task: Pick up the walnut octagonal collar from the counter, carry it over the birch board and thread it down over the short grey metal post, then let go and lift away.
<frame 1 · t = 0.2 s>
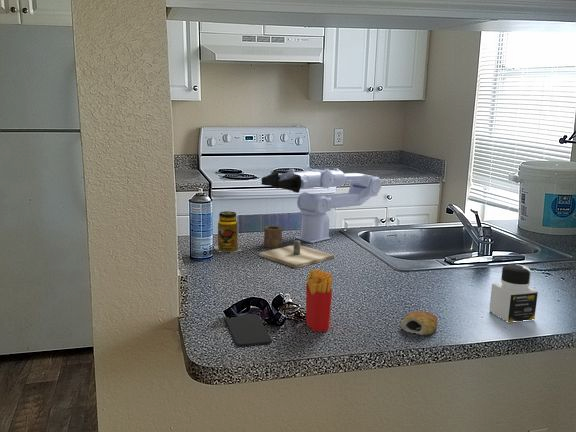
hand: (270, 182, 176), 21 cm above the countertop, tool horizontal, fingers open, 7 cm apart
french fries: (318, 326, 122), on the countertop
medicine bottle: (511, 317, 130), on the countertop
phone: (247, 332, 119), on the countertop
collar: (272, 245, 184), on the countertop
condiment: (227, 249, 179), on the countertop
pastry: (419, 329, 123), on the countertop
post board: (296, 257, 173), on the countertop
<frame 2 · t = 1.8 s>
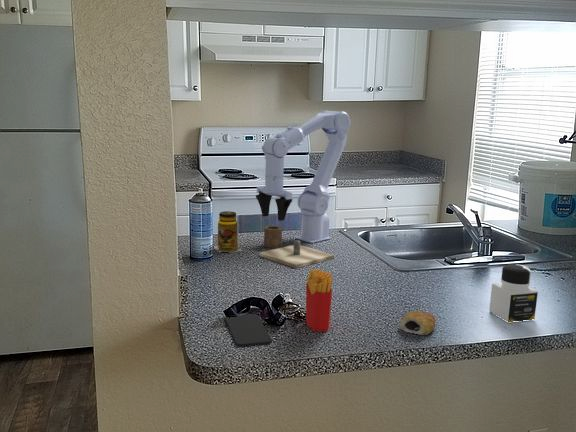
hand: (273, 218, 182), 9 cm above the countertop, tool pointing down, fingers open, 7 cm apart
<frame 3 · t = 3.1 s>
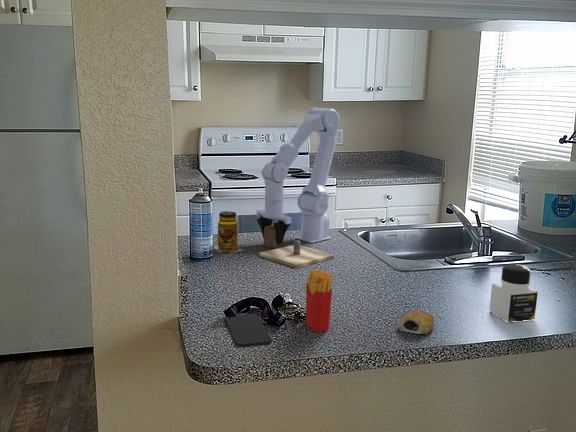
hand: (272, 241, 184), 1 cm above the countertop, tool pointing down, fingers closed on collar, 6 cm apart
collar: (272, 245, 184), on the countertop, touching gripper
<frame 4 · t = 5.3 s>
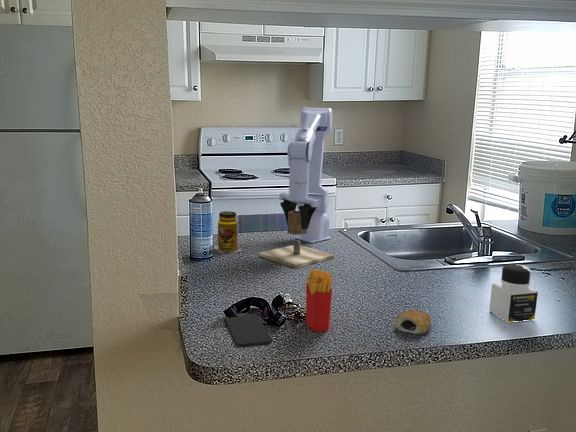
hand: (297, 226, 171), 9 cm above the countertop, tool pointing down, fingers closed on collar, 6 cm apart
collar: (297, 232, 171), point 8 cm above the countertop, touching gripper
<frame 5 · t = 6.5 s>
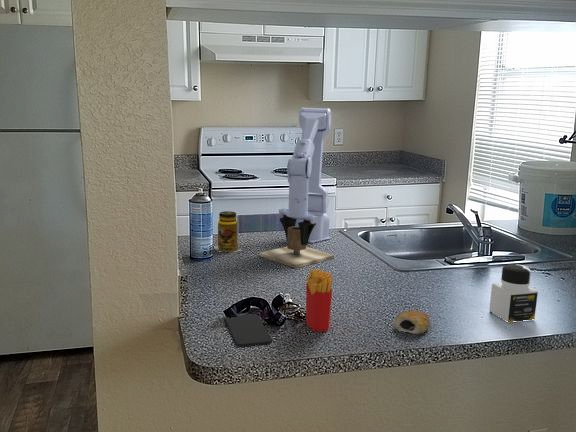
hand: (297, 242, 172), 5 cm above the countertop, tool pointing down, fingers closed on collar, 6 cm apart
collar: (296, 247, 172), point 3 cm above the countertop, touching gripper
when the fingers open (4 cm above the countertop, at t = 7.7 s): collar drops 1 cm, resting on post board.
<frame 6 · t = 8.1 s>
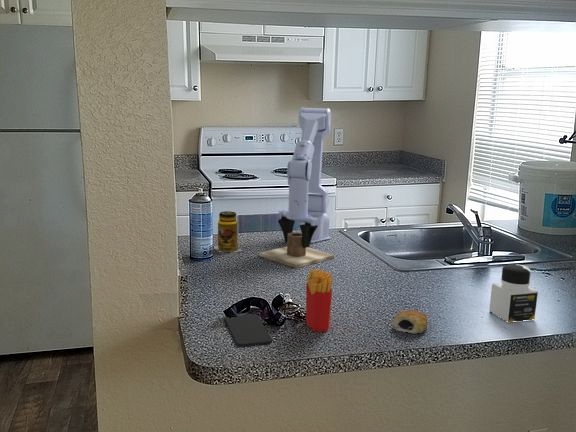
hand: (296, 244, 172), 4 cm above the countertop, tool pointing down, fingers open, 7 cm apart
collar: (296, 253, 172), point 1 cm above the countertop, touching post board
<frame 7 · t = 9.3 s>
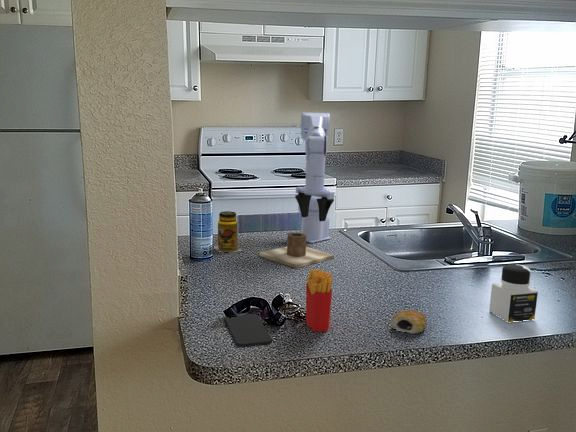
hand: (313, 219, 177), 10 cm above the countertop, tool pointing down, fingers open, 7 cm apart
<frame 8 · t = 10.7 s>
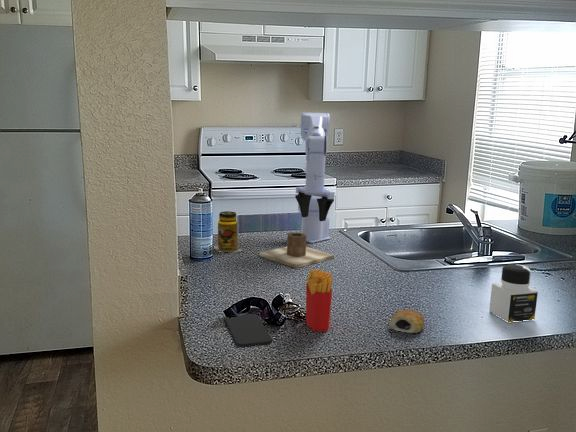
hand: (313, 218, 177), 10 cm above the countertop, tool pointing down, fingers open, 7 cm apart
at the end: collar 0.1 cm off-centre on the post board, point 1.0 cm above the post board's base; the gripper is holding nothing; collar tilted 0° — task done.
